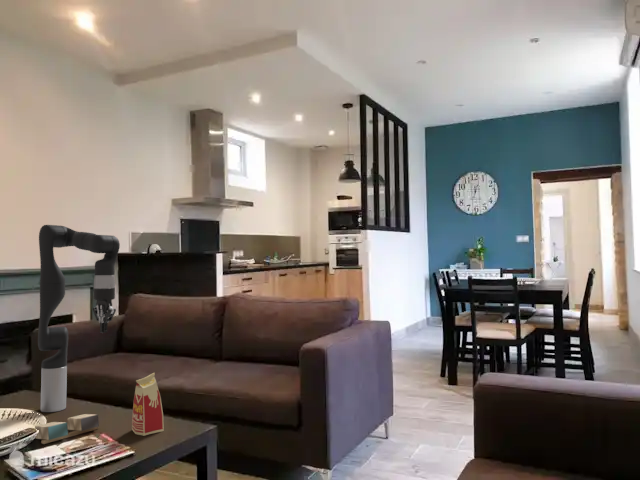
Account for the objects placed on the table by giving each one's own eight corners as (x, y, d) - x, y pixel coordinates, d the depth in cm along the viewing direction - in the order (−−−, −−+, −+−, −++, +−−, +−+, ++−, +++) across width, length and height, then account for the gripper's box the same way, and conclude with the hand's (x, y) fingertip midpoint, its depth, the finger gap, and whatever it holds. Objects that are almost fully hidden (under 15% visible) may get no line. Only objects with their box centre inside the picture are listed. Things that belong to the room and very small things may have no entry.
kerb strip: (41, 443, 165) (41, 440, 166) (96, 427, 181) (96, 425, 181) (43, 444, 165) (43, 441, 165) (98, 428, 180) (98, 425, 180)
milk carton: (153, 424, 184) (153, 369, 185) (165, 430, 177) (165, 373, 178) (128, 430, 177) (129, 373, 178) (140, 437, 171) (140, 378, 172)
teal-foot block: (49, 439, 164) (35, 438, 170) (67, 434, 169) (53, 433, 175) (48, 427, 165) (35, 426, 171) (67, 422, 170) (53, 421, 175)
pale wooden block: (82, 430, 173) (68, 429, 179) (98, 426, 178) (84, 425, 184) (81, 418, 174) (67, 418, 179) (98, 414, 178) (83, 414, 184)
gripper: (85, 287, 193) (85, 332, 192) (104, 288, 185) (103, 335, 184) (104, 286, 199) (103, 330, 198) (123, 287, 191) (122, 332, 190)
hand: (103, 332), depth 191 cm, fingers closed
